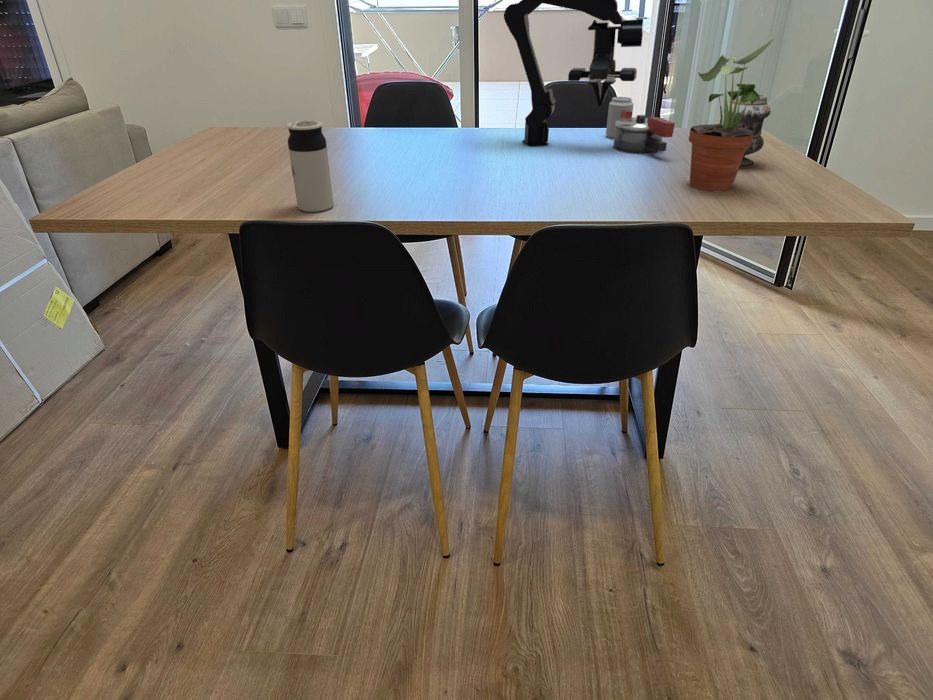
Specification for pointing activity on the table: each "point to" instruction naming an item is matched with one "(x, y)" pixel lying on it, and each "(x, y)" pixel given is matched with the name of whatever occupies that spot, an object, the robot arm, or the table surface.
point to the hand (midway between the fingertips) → (600, 106)
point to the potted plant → (722, 133)
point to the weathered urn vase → (752, 123)
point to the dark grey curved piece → (638, 142)
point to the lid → (645, 124)
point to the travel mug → (310, 166)
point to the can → (617, 113)
